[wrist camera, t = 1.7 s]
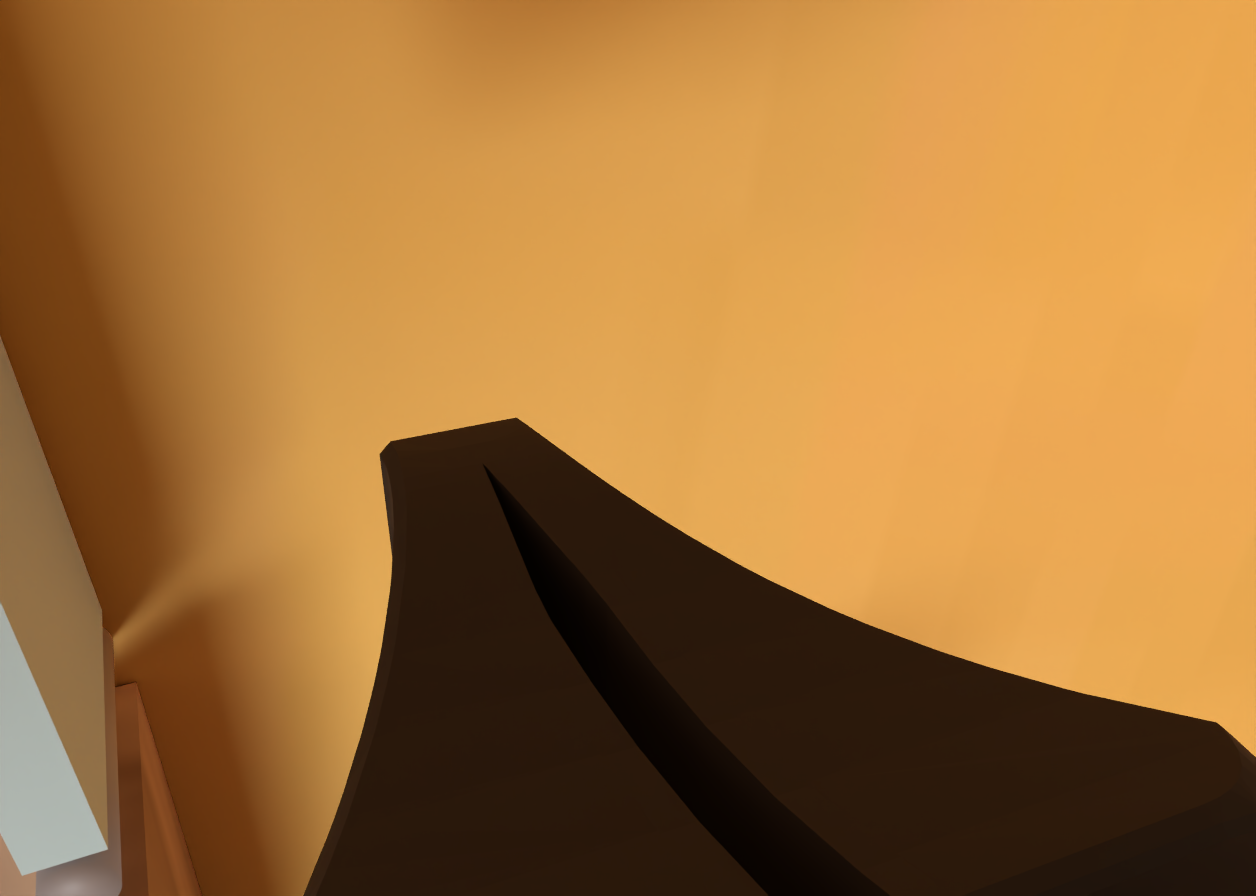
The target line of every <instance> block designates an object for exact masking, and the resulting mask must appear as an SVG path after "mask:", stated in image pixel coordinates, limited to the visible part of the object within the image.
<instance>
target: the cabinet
mask: <svg viewBox="0 0 1256 896" xmlns="http://www.w3.org/2000/svg"><path fill="white" fill-rule="evenodd" d="M115 704H116V732H117V759H118V786H119V813H120V841H121V868H122V889H121V892H120V894H119V896H202V894H201V891H200V887H199V884H198V881H197V878H196V874H195V871H194V868H193V865H192V861H191V858H190V855H189V852H188V849H187V845H186V842H185V839H184V836H183V832H182V829H181V826H180V823H179V819H178V816H177V813H176V810H175V806H174V803H173V800H172V797H171V793H170V790H169V787H168V784H167V780H166V777H165V774H164V771H163V768H162V764H161V761H160V758H159V755H158V751H157V748H156V745H155V742H154V738H153V735H152V732H151V729H150V725H149V722H148V719H147V716H146V712H145V709H144V706H143V703H142V699H141V696H140V693H139V690H138V687H137V683H136V682H135V683H131V684H127V685H123V686H119V687H115ZM35 894H36V872H33V873H30V874H26V875H23V876H22V875H21V873H20V871H19V869H18V867H17V865H16V863H15V861H14V859H13V857H12V855H11V853H10V851H9V849H8V847H7V846H6V844H5V842H4V840H3V838H2V836H1V834H0V896H35Z"/></svg>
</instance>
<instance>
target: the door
mask: <svg viewBox="0 0 1256 896" xmlns="http://www.w3.org/2000/svg"><path fill="white" fill-rule="evenodd" d="M0 834H1V836H2V838H3V840H4V842H5V844H6V846H7V847H8V849H9V851H10V853H11V855H12V857H13V859H14V861H15V863H16V865H17V867H18V869H19V871H20V873H21V875H22V876H23V875H26V874H30V873H33V872H36V894H35V896H119V894H120V892H121V889H122V868H121V841H120V813H119V786H118V759H117V732H116V704H115V677H114V650H113V639H112V636H111V635H110V633H109V632H108V631H107V630H106V629H105V628H103V627H102V609H101V606H100V604H99V601H98V598H97V595H96V593H95V590H94V587H93V585H92V582H91V579H90V577H89V574H88V571H87V568H86V566H85V563H84V560H83V558H82V555H81V552H80V549H79V547H78V544H77V541H76V539H75V536H74V533H73V531H72V528H71V525H70V522H69V520H68V517H67V514H66V512H65V509H64V506H63V504H62V501H61V498H60V495H59V493H58V490H57V487H56V485H55V482H54V479H53V477H52V474H51V471H50V468H49V466H48V463H47V460H46V458H45V455H44V452H43V450H42V447H41V444H40V441H39V439H38V436H37V433H36V431H35V428H34V425H33V423H32V420H31V417H30V414H29V412H28V409H27V406H26V404H25V401H24V398H23V396H22V393H21V390H20V387H19V385H18V382H17V379H16V377H15V374H14V371H13V369H12V366H11V363H10V360H9V358H8V355H7V352H6V350H5V347H4V344H3V342H2V339H1V336H0Z"/></svg>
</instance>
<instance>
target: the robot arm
mask: <svg viewBox="0 0 1256 896" xmlns="http://www.w3.org/2000/svg"><path fill="white" fill-rule="evenodd" d="M380 461H381V469H382V477H383V485H384V493H385V501H386V509H387V518H388V526H389V534H390V542H391V550H392V577H391V587H390V595H389V602H388V608H387V615H386V622H385V629H384V635H383V642H382V648H381V654H380V659H379V663H378V668H377V673H376V678H375V682H374V687H373V691H372V695H371V699H370V703H369V707H368V711H367V715H366V719H365V723H364V727H363V730H362V734H361V738H360V741H359V744H358V747H357V750H356V754H355V757H354V760H353V763H352V767H351V770H350V773H349V776H348V779H347V783H346V786H345V789H344V792H343V795H342V798H341V801H340V804H339V807H338V810H337V812H336V815H335V818H334V821H333V824H332V826H331V829H330V832H329V834H328V837H327V839H326V842H325V844H324V847H323V849H322V851H321V854H320V856H319V859H318V861H317V864H316V866H315V868H314V871H313V873H312V876H311V878H310V881H309V883H308V885H307V888H306V890H305V893H304V895H303V896H1256V757H1255V756H1254V755H1253V754H1251V753H1250V752H1249V751H1248V750H1247V749H1246V748H1245V747H1244V746H1243V745H1242V744H1241V743H1240V742H1238V741H1237V740H1236V739H1235V738H1234V737H1233V736H1232V735H1231V734H1229V733H1228V732H1227V731H1226V730H1225V729H1224V728H1223V727H1221V726H1220V725H1219V724H1218V723H1216V722H1211V721H1207V720H1202V719H1198V718H1193V717H1188V716H1184V715H1179V714H1175V713H1170V712H1165V711H1161V710H1156V709H1152V708H1147V707H1143V706H1138V705H1133V704H1129V703H1124V702H1120V701H1115V700H1110V699H1106V698H1101V697H1097V696H1092V695H1087V694H1083V693H1079V692H1075V691H1071V690H1067V689H1063V688H1060V687H1056V686H1053V685H1049V684H1046V683H1042V682H1039V681H1035V680H1032V679H1028V678H1025V677H1021V676H1018V675H1014V674H1011V673H1007V672H1003V671H1000V670H996V669H993V668H990V667H986V666H983V665H980V664H977V663H974V662H971V661H968V660H965V659H962V658H959V657H955V656H952V655H949V654H946V653H943V652H940V651H937V650H934V649H932V648H929V647H926V646H924V645H921V644H918V643H916V642H913V641H910V640H908V639H905V638H902V637H900V636H897V635H894V634H892V633H889V632H886V631H883V630H881V629H878V628H875V627H873V626H870V625H868V624H865V623H863V622H860V621H858V620H856V619H853V618H851V617H848V616H846V615H843V614H841V613H839V612H836V611H834V610H832V609H829V608H827V607H825V606H823V605H821V604H819V603H817V602H814V601H812V600H810V599H808V598H806V597H804V596H802V595H799V594H797V593H795V592H793V591H791V590H789V589H787V588H785V587H782V586H780V585H778V584H776V583H774V582H772V581H770V580H768V579H766V578H764V577H762V576H760V575H758V574H756V573H754V572H752V571H750V570H748V569H746V568H744V567H743V566H741V565H739V564H737V563H735V562H734V561H732V560H730V559H728V558H727V557H725V556H723V555H721V554H720V553H718V552H716V551H714V550H713V549H711V548H709V547H707V546H706V545H704V544H702V543H700V542H699V541H697V540H695V539H693V538H692V537H690V536H688V535H686V534H685V533H683V532H682V531H680V530H678V529H677V528H675V527H674V526H672V525H670V524H669V523H667V522H665V521H664V520H662V519H661V518H659V517H658V516H656V515H654V514H653V513H651V512H650V511H648V510H647V509H645V508H644V507H642V506H641V505H639V504H638V503H636V502H635V501H633V500H632V499H630V498H629V497H627V496H626V495H624V494H623V493H621V492H620V491H618V490H617V489H615V488H614V487H612V486H611V485H609V484H608V483H607V482H605V481H604V480H602V479H601V478H599V477H598V476H597V475H595V474H594V473H592V472H591V471H590V470H588V469H587V468H585V467H584V466H583V465H581V464H580V463H578V462H577V461H576V460H574V459H573V458H572V457H570V456H569V455H567V454H566V453H565V452H563V451H562V450H561V449H559V448H558V447H556V446H555V445H554V444H552V443H551V442H550V441H548V440H547V439H545V438H544V437H543V436H541V435H540V434H539V433H537V432H536V431H534V430H533V429H532V428H530V427H529V426H528V425H526V424H525V423H523V422H522V421H520V420H519V419H518V418H512V419H506V420H501V421H496V422H491V423H485V424H480V425H475V426H469V427H464V428H459V429H454V430H448V431H443V432H438V433H433V434H427V435H422V436H417V437H411V438H406V439H401V440H396V441H391V442H390V443H389V444H388V445H387V446H386V447H385V449H384V450H383V451H382V452H381V453H380Z"/></svg>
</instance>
